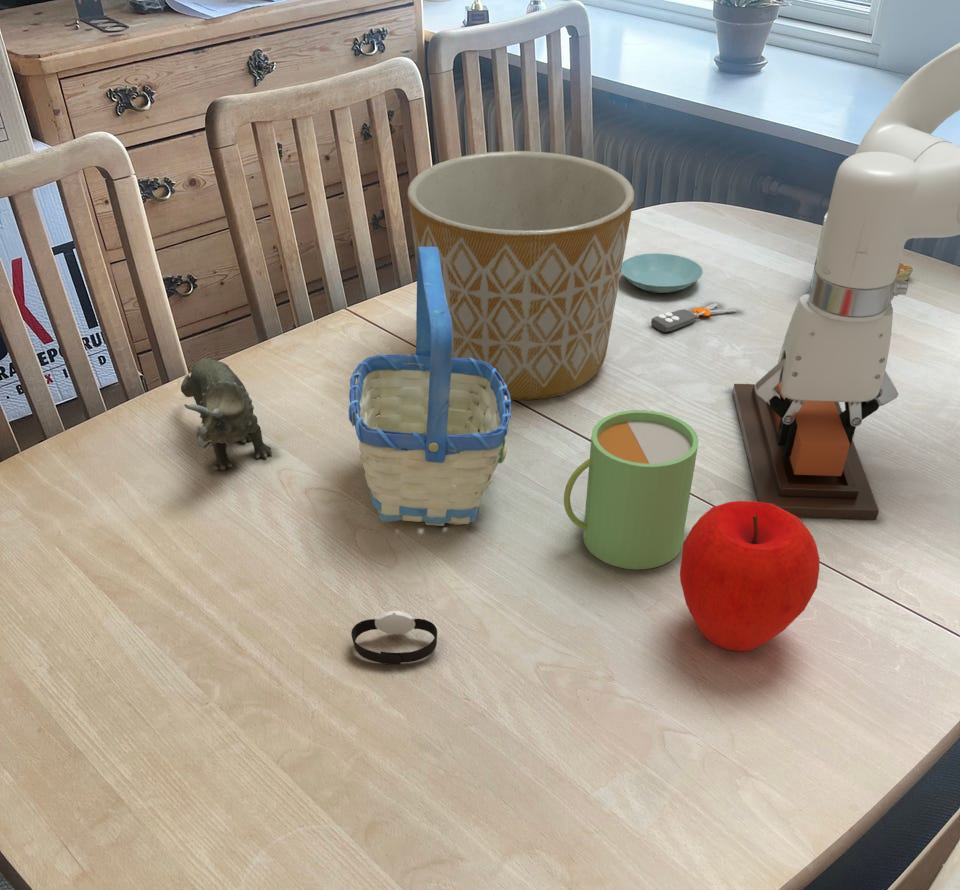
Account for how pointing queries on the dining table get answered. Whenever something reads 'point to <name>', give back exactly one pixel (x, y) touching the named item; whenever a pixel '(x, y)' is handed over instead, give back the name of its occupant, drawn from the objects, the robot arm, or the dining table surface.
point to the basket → (429, 418)
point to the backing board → (776, 472)
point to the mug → (636, 488)
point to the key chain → (683, 317)
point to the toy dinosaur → (222, 410)
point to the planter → (526, 261)
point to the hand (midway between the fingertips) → (811, 449)
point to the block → (819, 440)
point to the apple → (747, 573)
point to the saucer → (661, 272)
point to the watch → (394, 625)
